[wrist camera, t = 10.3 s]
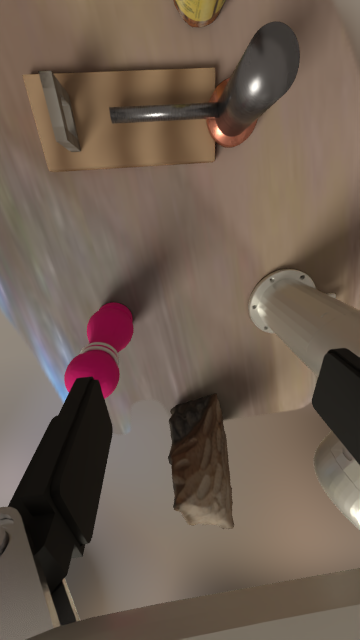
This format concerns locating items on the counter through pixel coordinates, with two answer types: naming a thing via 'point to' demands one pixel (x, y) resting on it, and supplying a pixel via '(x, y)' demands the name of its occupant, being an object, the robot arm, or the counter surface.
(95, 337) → the pepper mill
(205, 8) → the sauce bottle
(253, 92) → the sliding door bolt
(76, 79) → the board
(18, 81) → the counter surface
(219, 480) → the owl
